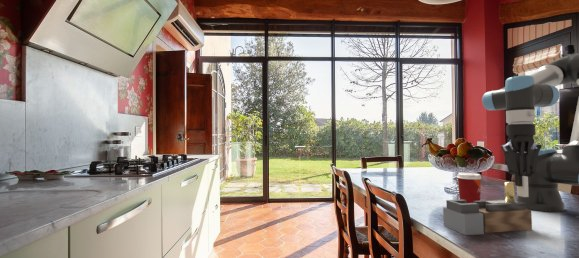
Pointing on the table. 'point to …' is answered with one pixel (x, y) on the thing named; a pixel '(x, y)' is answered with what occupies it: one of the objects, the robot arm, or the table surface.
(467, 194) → the coffee cup
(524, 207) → the door
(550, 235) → the table surface
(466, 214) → the bracket
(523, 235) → the table surface
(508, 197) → the white and gold piece
